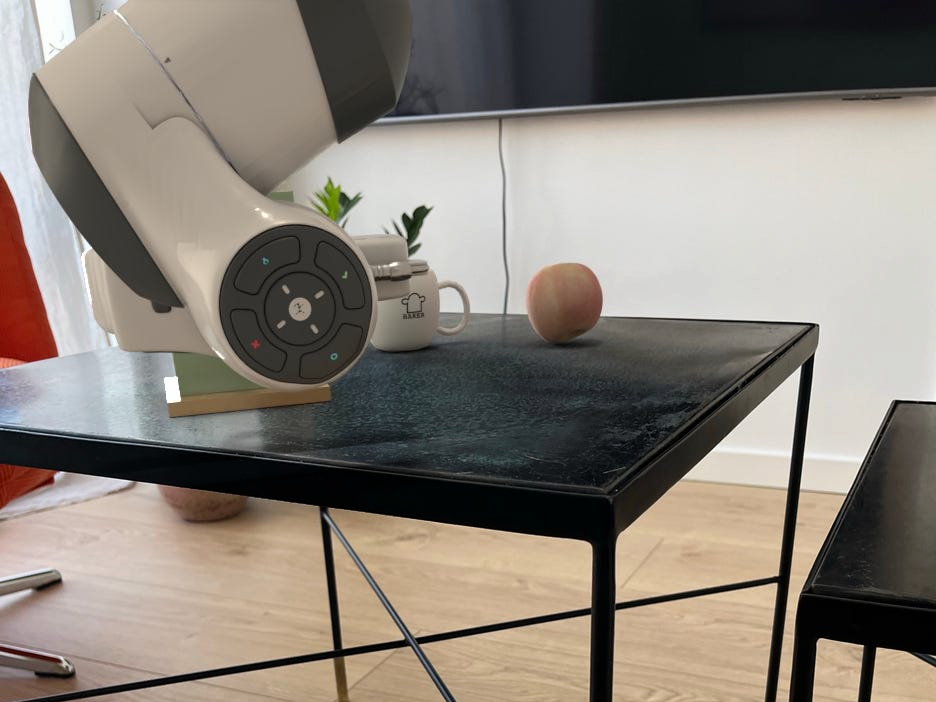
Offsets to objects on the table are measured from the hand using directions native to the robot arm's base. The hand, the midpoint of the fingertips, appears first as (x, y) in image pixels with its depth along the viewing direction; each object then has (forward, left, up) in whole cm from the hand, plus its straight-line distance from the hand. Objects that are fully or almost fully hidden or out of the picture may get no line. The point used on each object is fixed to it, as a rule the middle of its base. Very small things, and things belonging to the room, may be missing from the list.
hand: (242, 268), depth 71 cm
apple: (+34, +26, -11) cm, 44 cm away
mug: (+20, +33, -11) cm, 40 cm away
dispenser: (0, +14, -11) cm, 18 cm away
